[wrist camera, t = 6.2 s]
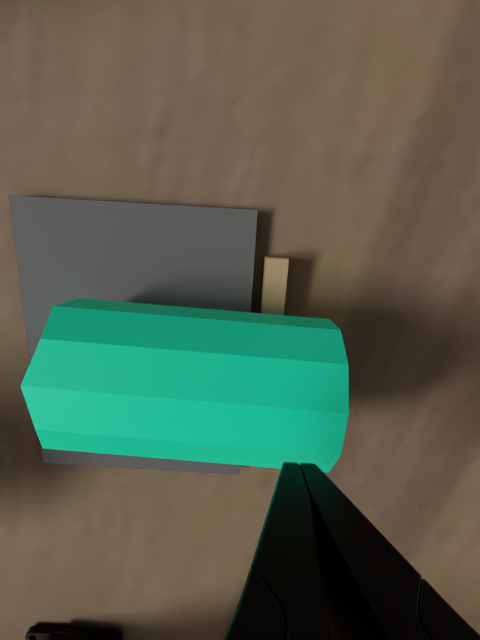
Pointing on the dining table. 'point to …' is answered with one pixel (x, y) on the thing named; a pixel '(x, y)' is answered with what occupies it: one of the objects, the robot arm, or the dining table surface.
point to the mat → (130, 273)
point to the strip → (274, 285)
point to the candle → (189, 384)
